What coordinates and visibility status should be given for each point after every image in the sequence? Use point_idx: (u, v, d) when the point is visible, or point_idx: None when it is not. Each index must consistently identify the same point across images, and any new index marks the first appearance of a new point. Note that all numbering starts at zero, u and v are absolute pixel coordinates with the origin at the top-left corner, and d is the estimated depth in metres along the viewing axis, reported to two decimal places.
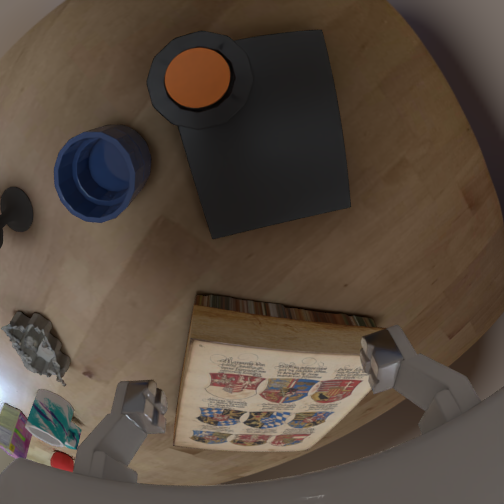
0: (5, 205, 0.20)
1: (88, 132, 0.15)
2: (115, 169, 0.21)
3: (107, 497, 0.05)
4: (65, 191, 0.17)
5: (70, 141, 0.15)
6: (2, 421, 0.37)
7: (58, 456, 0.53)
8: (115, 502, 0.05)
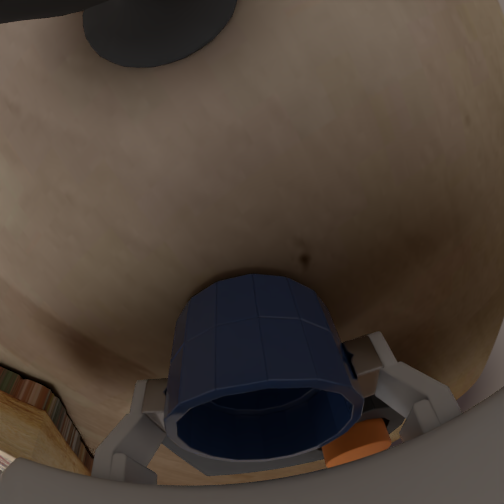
0: None
1: (356, 420, 0.08)
2: None
3: (107, 497, 0.05)
4: None
5: (359, 403, 0.07)
6: None
7: None
8: (115, 502, 0.05)
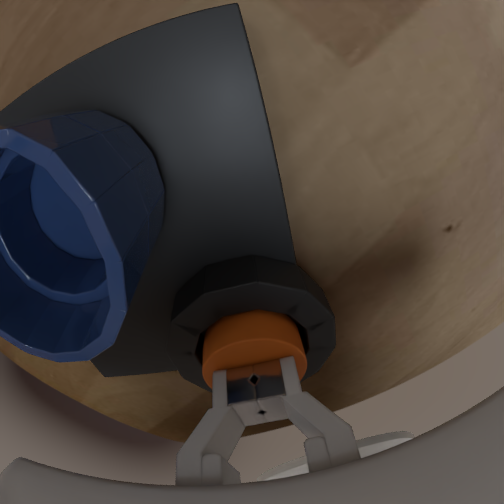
0: None
1: (50, 358, 0.06)
2: None
3: (107, 497, 0.05)
4: None
5: (84, 356, 0.06)
6: None
7: None
8: (115, 502, 0.05)
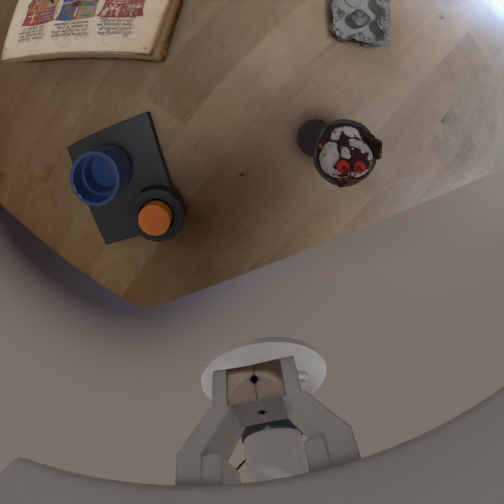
0: None
1: (96, 205, 0.29)
2: (107, 165, 0.31)
3: (107, 497, 0.05)
4: None
5: (107, 201, 0.29)
6: None
7: None
8: (115, 502, 0.05)
